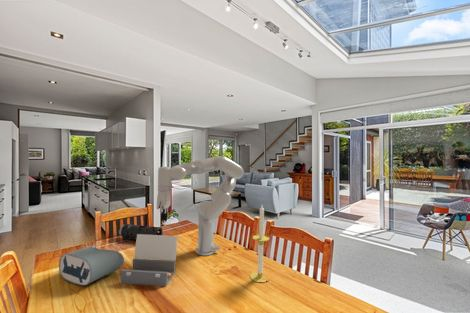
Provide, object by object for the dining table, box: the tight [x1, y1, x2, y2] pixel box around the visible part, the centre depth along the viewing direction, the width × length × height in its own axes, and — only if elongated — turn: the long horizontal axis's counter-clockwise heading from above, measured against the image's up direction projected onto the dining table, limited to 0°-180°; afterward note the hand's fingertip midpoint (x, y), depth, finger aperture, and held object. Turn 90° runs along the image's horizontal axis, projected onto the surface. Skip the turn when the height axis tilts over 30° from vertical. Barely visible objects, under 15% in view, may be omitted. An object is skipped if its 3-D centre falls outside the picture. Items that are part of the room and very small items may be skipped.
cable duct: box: [120, 258, 176, 287], centre depth 112 cm, size 22×13×6 cm, turn 86°
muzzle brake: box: [118, 223, 163, 241], centre depth 158 cm, size 10×28×10 cm, turn 79°
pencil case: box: [58, 244, 125, 286], centre depth 114 cm, size 22×19×13 cm
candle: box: [249, 204, 270, 283], centre depth 114 cm, size 10×10×38 cm
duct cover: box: [133, 234, 179, 262], centre depth 120 cm, size 22×12×1 cm
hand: (164, 219), depth 131 cm, fingers closed
